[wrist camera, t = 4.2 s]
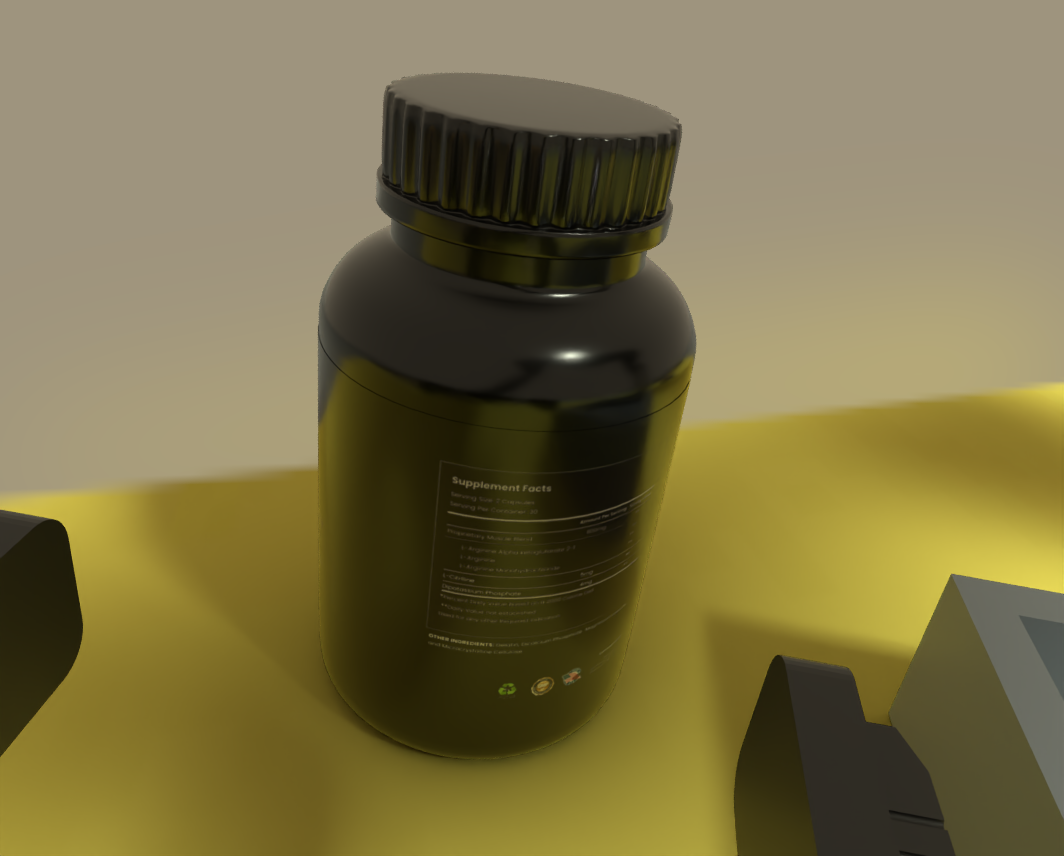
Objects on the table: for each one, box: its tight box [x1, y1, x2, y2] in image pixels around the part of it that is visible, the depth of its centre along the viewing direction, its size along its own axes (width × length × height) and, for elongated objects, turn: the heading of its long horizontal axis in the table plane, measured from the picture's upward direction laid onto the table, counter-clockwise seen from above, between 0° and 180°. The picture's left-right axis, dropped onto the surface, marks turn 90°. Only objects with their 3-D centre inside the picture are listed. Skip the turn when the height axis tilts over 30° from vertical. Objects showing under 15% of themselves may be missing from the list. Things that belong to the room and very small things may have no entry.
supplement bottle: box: [318, 73, 696, 759], centre depth 17 cm, size 7×7×12 cm
